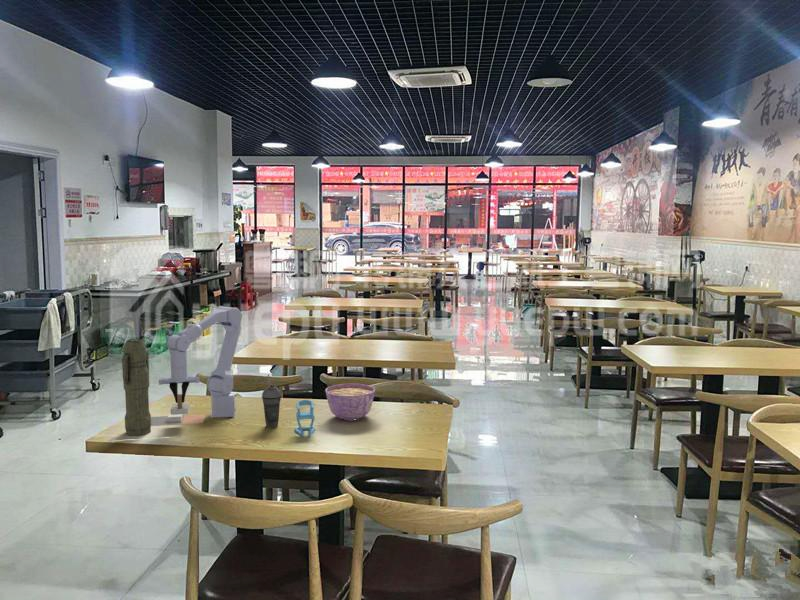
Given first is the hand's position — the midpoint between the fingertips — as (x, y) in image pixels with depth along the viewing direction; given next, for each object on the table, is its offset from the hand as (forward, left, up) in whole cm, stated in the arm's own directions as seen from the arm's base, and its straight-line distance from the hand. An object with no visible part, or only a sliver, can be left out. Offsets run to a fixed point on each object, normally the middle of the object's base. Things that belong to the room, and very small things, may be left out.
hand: (180, 401), depth 247 cm
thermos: (+14, +5, -10) cm, 18 cm away
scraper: (0, 0, -4) cm, 4 cm away
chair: (-46, +16, -10) cm, 50 cm away
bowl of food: (-65, 0, -10) cm, 66 cm away
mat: (+4, -8, -10) cm, 13 cm away
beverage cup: (-34, +5, -10) cm, 36 cm away
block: (+3, -8, -9) cm, 13 cm away
